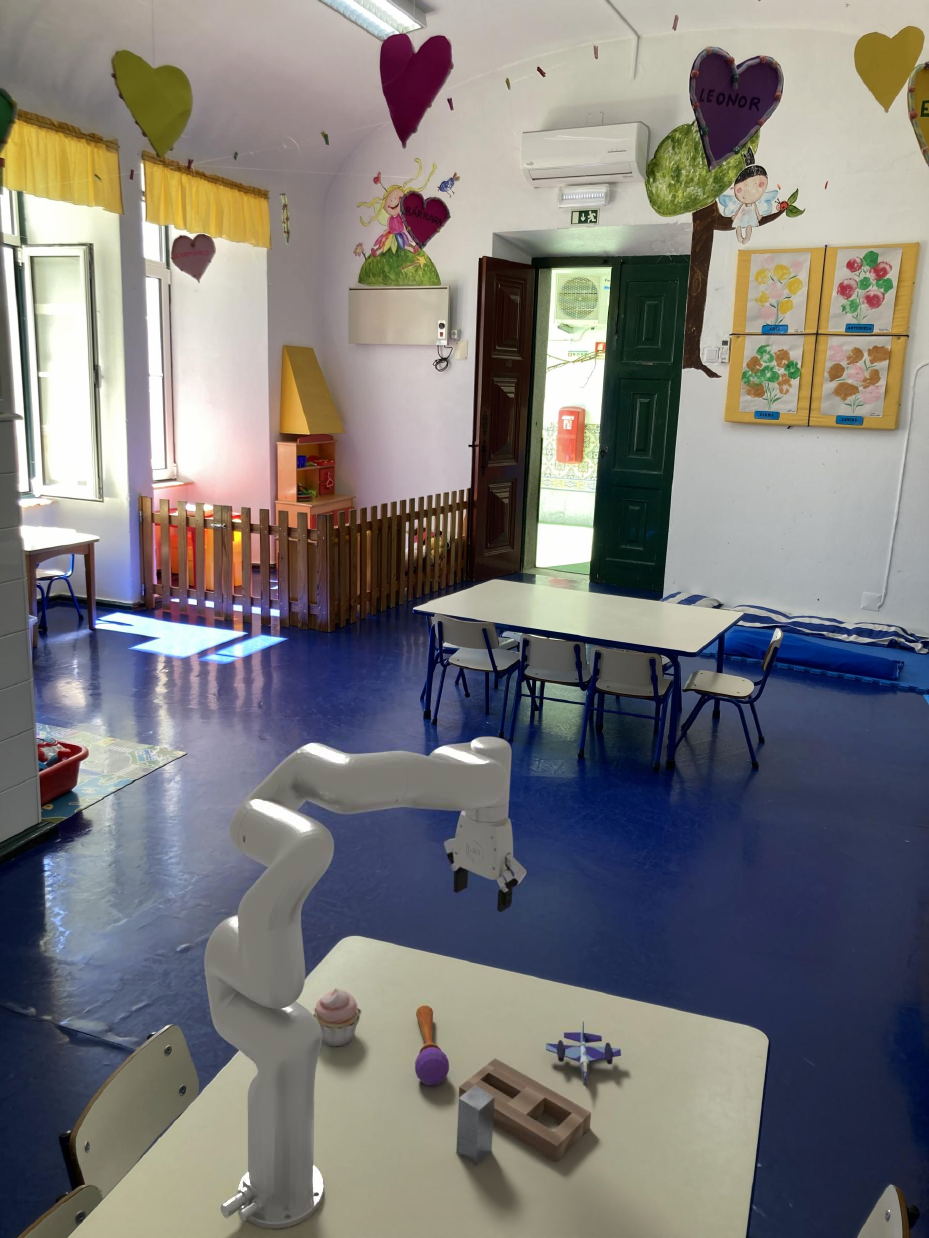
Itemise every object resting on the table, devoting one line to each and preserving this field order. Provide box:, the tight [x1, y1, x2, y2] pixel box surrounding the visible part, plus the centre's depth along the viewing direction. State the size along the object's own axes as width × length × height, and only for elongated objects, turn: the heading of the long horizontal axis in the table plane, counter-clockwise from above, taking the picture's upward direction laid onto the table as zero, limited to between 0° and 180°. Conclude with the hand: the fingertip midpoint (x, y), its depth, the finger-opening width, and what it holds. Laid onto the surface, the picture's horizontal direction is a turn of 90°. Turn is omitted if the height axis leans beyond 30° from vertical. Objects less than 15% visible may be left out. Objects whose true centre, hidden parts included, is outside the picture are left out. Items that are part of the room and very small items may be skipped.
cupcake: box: [312, 987, 363, 1047], centre depth 180 cm, size 9×9×10 cm
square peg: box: [455, 1085, 495, 1166], centre depth 153 cm, size 4×4×10 cm
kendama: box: [414, 1005, 450, 1086], centre depth 176 cm, size 6×6×20 cm
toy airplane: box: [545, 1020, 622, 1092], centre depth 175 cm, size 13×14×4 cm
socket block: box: [458, 1057, 592, 1163], centre depth 162 cm, size 10×20×3 cm, turn 51°
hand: (481, 899), depth 171 cm, fingers open, 9 cm apart
